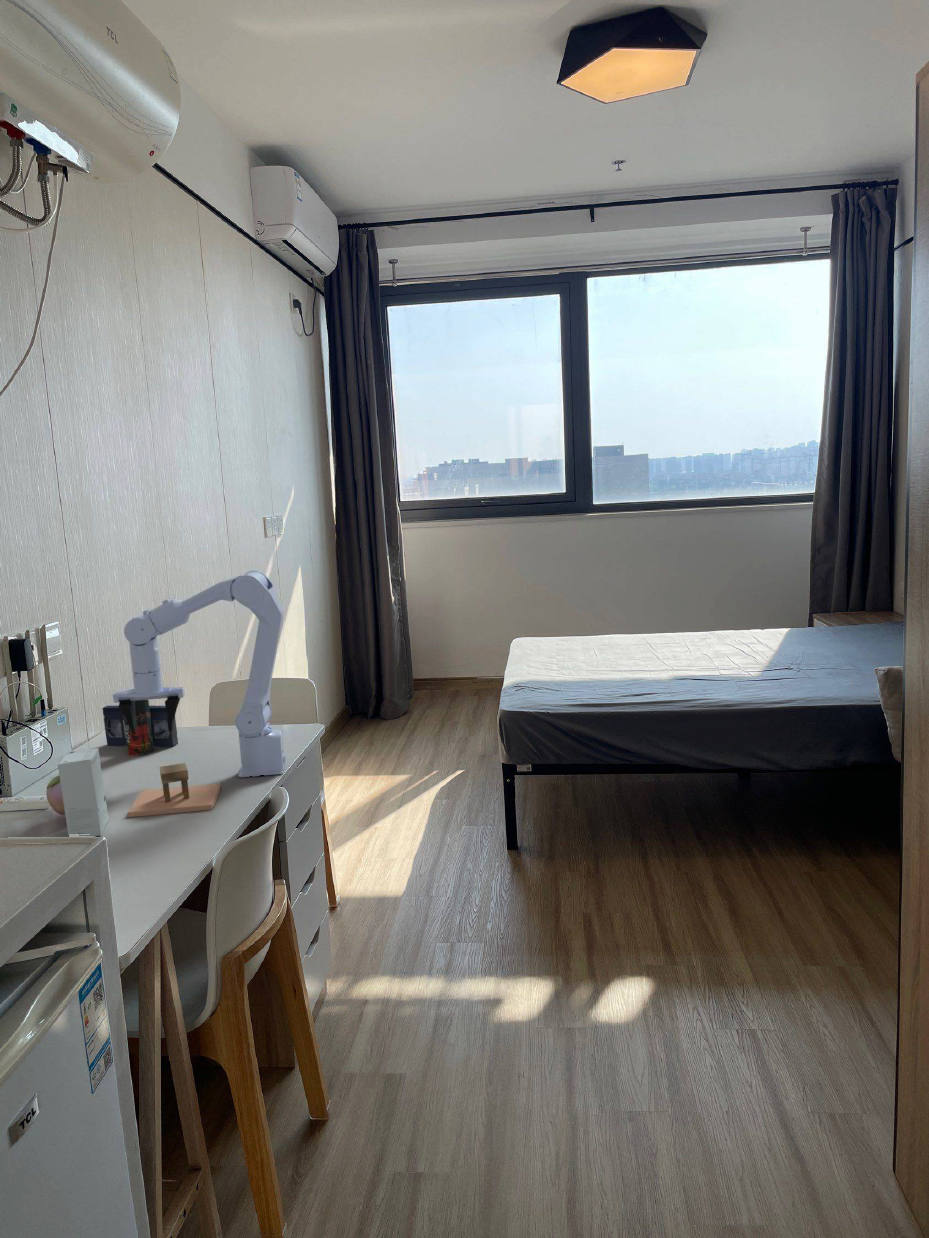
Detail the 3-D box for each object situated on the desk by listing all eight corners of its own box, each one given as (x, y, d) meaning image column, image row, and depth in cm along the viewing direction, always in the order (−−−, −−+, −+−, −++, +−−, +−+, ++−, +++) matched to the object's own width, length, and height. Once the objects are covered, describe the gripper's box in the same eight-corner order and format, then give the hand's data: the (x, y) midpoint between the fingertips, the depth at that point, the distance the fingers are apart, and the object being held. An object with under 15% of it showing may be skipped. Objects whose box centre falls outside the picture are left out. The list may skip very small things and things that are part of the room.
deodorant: (122, 754, 209) (115, 694, 206) (140, 747, 214) (133, 688, 212) (142, 756, 207) (135, 695, 204) (159, 749, 212) (152, 689, 209)
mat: (220, 788, 183) (220, 783, 183) (212, 809, 171) (212, 804, 171) (142, 795, 181) (141, 790, 181) (128, 817, 169) (127, 812, 169)
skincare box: (101, 837, 160) (92, 759, 158) (66, 841, 159) (56, 763, 156) (109, 820, 168) (100, 746, 166) (76, 824, 167) (66, 750, 164)
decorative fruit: (81, 805, 177) (75, 758, 175) (107, 811, 173) (101, 763, 171) (38, 822, 169) (32, 773, 167) (65, 829, 165) (59, 778, 163)
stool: (188, 790, 179) (185, 762, 178) (190, 798, 175) (187, 770, 174) (162, 795, 178) (159, 766, 177) (164, 803, 173) (161, 774, 172)
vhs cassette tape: (106, 746, 217) (101, 707, 215) (113, 742, 220) (109, 704, 218) (172, 748, 213) (168, 708, 211) (179, 744, 216) (174, 705, 214)
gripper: (184, 664, 193) (190, 723, 195) (116, 669, 191) (123, 728, 193) (178, 671, 186) (184, 732, 188) (107, 676, 184) (115, 738, 186)
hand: (153, 731), depth 190 cm, fingers open, 7 cm apart
